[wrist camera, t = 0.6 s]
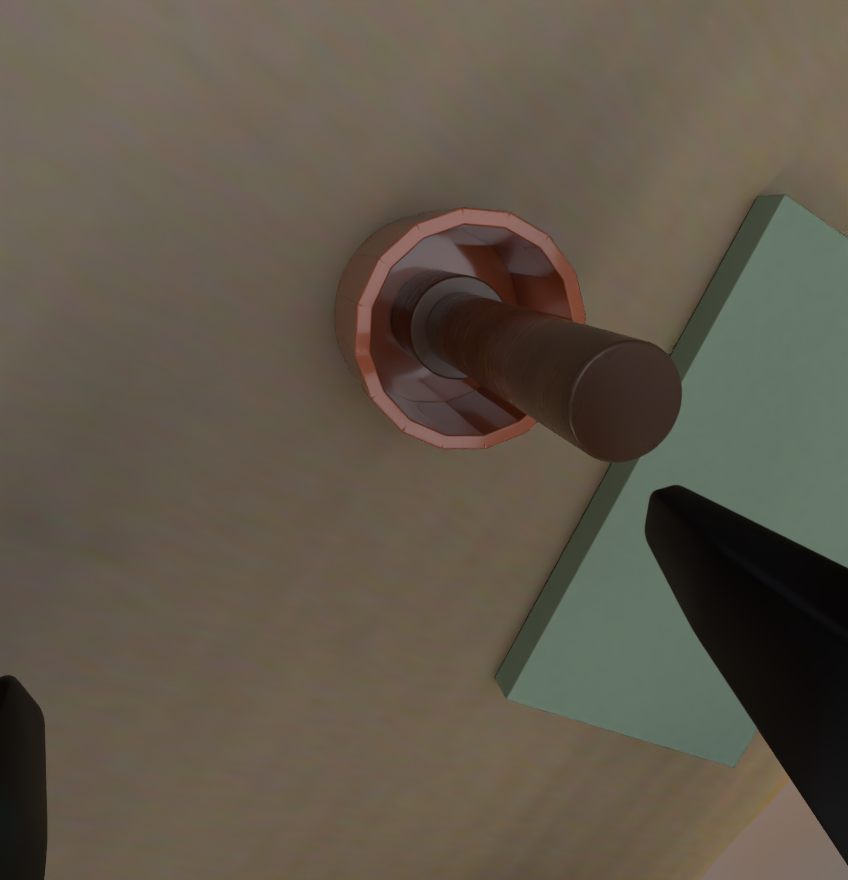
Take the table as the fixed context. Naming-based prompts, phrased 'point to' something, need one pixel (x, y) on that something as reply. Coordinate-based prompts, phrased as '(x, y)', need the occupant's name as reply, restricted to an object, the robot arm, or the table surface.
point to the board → (705, 493)
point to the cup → (459, 251)
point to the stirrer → (542, 364)
